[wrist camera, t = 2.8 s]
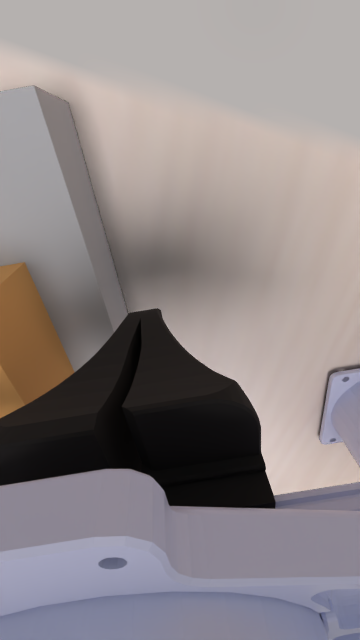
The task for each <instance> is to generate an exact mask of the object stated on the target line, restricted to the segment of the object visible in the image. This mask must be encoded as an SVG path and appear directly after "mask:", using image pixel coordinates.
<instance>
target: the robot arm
mask: <svg viewBox="0 0 360 640" xmlns="http://www.w3.org/2000/svg"><path fill="white" fill-rule="evenodd" d="M319 440H320V442H321V443H322V444H332V443H338V442H344V443H345V445H346V447H347V448H348V450H349V451H350V453H351V454H352V456H353V458H354V459H355V461H356V462H357V464H358V465H359V467H360V368H359V369H353V370H346V371H340V372H335V373H333V374H332V375H331V376H330V378H329V383H328V389H327V395H326V401H325V407H324V413H323V419H322V425H321V430H320V436H319ZM265 470H266V466H265V462H264V459H263V457H262V454H261V426H260V421H259V418H258V416H257V413H256V411H255V409H254V408H253V406H252V404H251V402H250V401H249V399H248V397H247V396H246V394H245V393H244V391H243V390H242V389H241V387H240V386H239V385H238V383H237V382H236V381H234V380H232V379H230V378H227V377H225V376H223V375H221V374H219V373H216V372H214V371H213V370H211V369H209V368H208V367H206V366H205V365H204V364H202V363H201V362H199V361H198V360H197V359H195V358H194V357H193V356H192V355H191V354H189V353H188V352H187V351H186V350H185V349H184V348H183V347H182V346H181V345H180V343H179V342H178V341H177V340H176V339H175V338H174V336H173V335H172V334H171V332H170V331H169V329H168V328H167V326H166V324H165V323H164V320H163V318H162V314H161V310H159V309H158V308H157V309H151V310H145V311H139V312H133V313H129V314H128V315H127V316H126V317H125V319H124V320H123V321H122V323H121V324H120V325H119V327H118V328H117V329H116V331H115V332H114V333H113V335H112V336H111V337H110V338H109V339H108V341H107V342H106V343H105V344H104V345H103V346H102V347H101V348H100V349H99V351H98V352H97V353H96V354H95V355H94V356H93V357H92V358H91V359H90V360H89V361H87V362H86V363H85V364H84V365H83V366H82V367H81V368H79V369H78V370H77V371H76V372H74V373H73V374H72V375H71V376H69V377H68V378H67V379H65V380H64V381H63V382H61V383H60V384H59V385H57V386H56V387H54V388H53V389H51V390H50V391H48V392H47V393H45V394H43V395H42V396H40V397H39V398H37V399H35V400H34V401H32V402H30V403H28V404H26V405H25V406H23V407H21V408H19V409H17V410H15V411H13V412H11V413H10V414H8V415H6V416H4V417H2V418H0V640H360V482H357V483H351V484H344V485H338V486H332V487H325V488H319V489H313V490H306V491H300V492H294V493H287V494H281V495H275V496H274V495H273V492H272V489H271V486H270V484H269V481H268V478H267V475H266V472H265Z"/></svg>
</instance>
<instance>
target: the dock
mask: <svg viewBox="0 0 360 640" xmlns="http://www.w3.org/2000/svg"><path fill="white" fill-rule="evenodd" d="M23 262H25V264H26V266H27V268H28V270H29V273H30V275H31V277H32V279H33V282H34V284H35V286H36V288H37V290H38V293H39V295H40V297H41V299H42V301H43V304H44V306H45V308H46V310H47V312H48V315H49V317H50V319H51V321H52V323H53V326H54V328H55V330H56V332H57V335H58V337H59V339H60V341H61V343H62V346H63V348H64V350H65V352H66V354H67V357H68V359H69V361H70V363H71V365H72V368H73V370H74V372H76V371H77V370H78V369H79V368H81V367H82V366H83V365H84V364H85V363H86V362H87V361H89V360H90V359H91V358H92V357H93V356H94V355H95V354H96V353H97V352H98V351H99V349H100V348H101V347H102V346H103V345H104V344H105V343H106V342H107V341H108V339H109V338H110V337H111V336H112V335H113V333H114V332H115V331H116V329H117V328H118V327H119V325H120V324H121V323H122V321H123V320H124V319H125V317H126V316H127V315H128V312H127V309H126V305H125V302H124V298H123V294H122V291H121V287H120V284H119V280H118V277H117V273H116V270H115V266H114V263H113V259H112V256H111V252H110V248H109V245H108V241H107V238H106V234H105V231H104V227H103V224H102V220H101V217H100V213H99V210H98V206H97V203H96V199H95V195H94V192H93V188H92V185H91V181H90V178H89V174H88V171H87V167H86V164H85V160H84V157H83V153H82V149H81V146H80V142H79V139H78V135H77V132H76V128H75V125H74V121H73V118H72V114H71V111H70V107H69V103H68V102H66V101H64V100H62V99H60V98H58V97H56V96H54V95H52V94H50V93H48V92H46V91H44V90H42V89H40V88H38V87H36V86H28V87H22V88H17V89H11V90H5V91H0V266H5V265H11V264H17V263H23Z"/></svg>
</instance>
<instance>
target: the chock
mask: <svg viewBox="0 0 360 640" xmlns="http://www.w3.org/2000/svg"><path fill="white" fill-rule="evenodd" d="M73 373H74V370H73V368H72V365H71V363H70V361H69V359H68V357H67V354H66V352H65V350H64V348H63V346H62V343H61V341H60V339H59V337H58V335H57V332H56V330H55V328H54V326H53V323H52V321H51V319H50V317H49V315H48V312H47V310H46V308H45V306H44V304H43V301H42V299H41V297H40V295H39V293H38V290H37V288H36V286H35V284H34V282H33V279H32V277H31V275H30V273H29V270H28V268H27V266H26V264H25V262H23V263H17V264H11V265H5V266H0V418H2V417H4V416H6V415H8V414H10V413H11V412H13V411H15V410H17V409H19V408H21V407H23V406H25V405H26V404H28V403H30V402H32V401H34V400H35V399H37V398H39V397H40V396H42V395H43V394H45V393H47V392H48V391H50V390H51V389H53V388H54V387H56V386H57V385H59V384H60V383H61V382H63V381H64V380H65V379H67V378H68V377H69V376H71V375H72V374H73Z"/></svg>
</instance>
